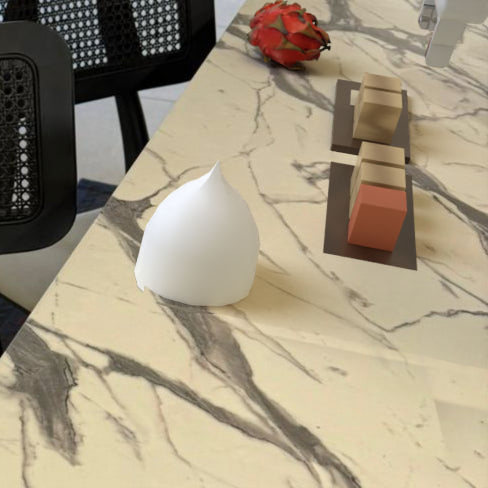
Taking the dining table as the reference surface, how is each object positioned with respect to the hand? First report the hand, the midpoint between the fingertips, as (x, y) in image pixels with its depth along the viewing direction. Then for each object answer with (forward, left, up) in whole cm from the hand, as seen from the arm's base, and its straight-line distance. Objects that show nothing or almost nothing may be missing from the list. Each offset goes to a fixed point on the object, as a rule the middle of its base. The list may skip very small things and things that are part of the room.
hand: (430, 45), depth 86 cm
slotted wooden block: (-1, -38, -21) cm, 43 cm away
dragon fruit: (+11, -54, -21) cm, 59 cm away
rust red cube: (-1, -5, -20) cm, 21 cm away
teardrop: (+15, +9, -21) cm, 28 cm away
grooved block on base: (-1, -11, -21) cm, 24 cm away
